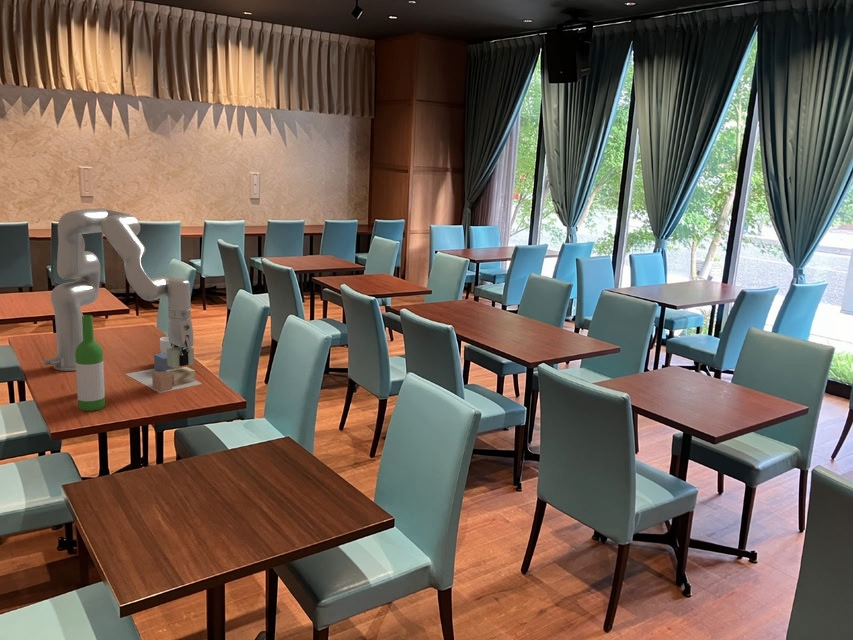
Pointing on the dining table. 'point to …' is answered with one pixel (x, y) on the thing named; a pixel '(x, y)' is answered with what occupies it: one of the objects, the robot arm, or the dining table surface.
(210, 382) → the dining table surface
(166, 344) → the white cup
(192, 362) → the sage block
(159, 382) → the terracotta block
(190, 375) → the beech block
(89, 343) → the wine bottle
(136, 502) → the dining table surface
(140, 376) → the felt placemat
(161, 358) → the slate blue block
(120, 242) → the robot arm
